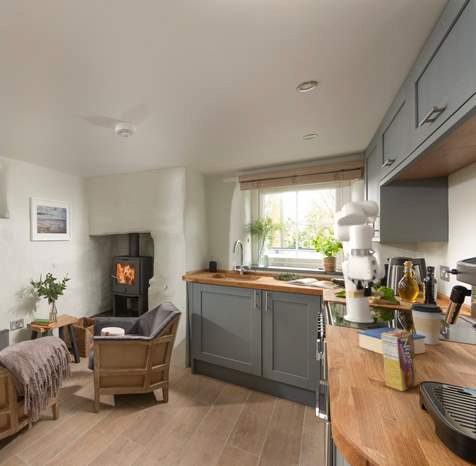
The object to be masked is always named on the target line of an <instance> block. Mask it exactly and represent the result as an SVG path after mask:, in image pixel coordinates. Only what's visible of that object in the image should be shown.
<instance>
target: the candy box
mask: <svg viewBox="0 0 476 466" xmlns="http://www.w3.org/2000/svg"><path fill="white" fill-rule="evenodd" d="M395 329H396V330H392V331H389V332H385V333H382V334H381V338H382V349H383V354H382V360H383V369H384V379H385V387H389V388H392V389H395V390H397V391H399V392H405V391H406V390H407V391H408V390H409V389H411V388H413V387H416V386H418V385H419V378H418V370H417V361H416V360H417V359H416V354H415V350H414V341H413V333H414V332H413V331H409V330H404V329H399V328H395Z"/></svg>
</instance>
